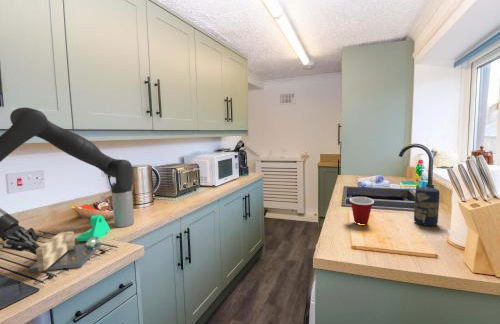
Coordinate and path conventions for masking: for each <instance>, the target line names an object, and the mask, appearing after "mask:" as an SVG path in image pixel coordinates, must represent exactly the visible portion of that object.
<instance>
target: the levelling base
mask: <svg viewBox="0 0 500 324" xmlns="http://www.w3.org/2000/svg"><path fill="white" fill-rule="evenodd" d="M99 241H100V239H99V238H98V237H97V236H93V237H92V238H90V239H89V240H88V241H85V243H81V244H80V243H79V244H78V243H77V244H75V248H74V249H73V250H70V251H67V252H66V253H65V254H63V255H62V256H61V257H60V258H59V259H58V260H56V261H55V262H54V263H53V264H52V265H51V266H50V267H48V268H47V269H46V270H45V271H44V272H49V271H58V270H57V269H61V270H64V269H63V268H69V269H70V270H71V269H79V268H82V267H83V266H84V265H85V264H86V263H87V262H88V261H89V260H90V258H91V257H92V256H93V255H94V254H95V253H96V252H97V251H98V250H99V249H100V248H101V246H102V245H101V244H102V243H101V242H99ZM97 249H98V250H97ZM96 250H97V251H96ZM69 269H68V270H69ZM28 271H29V273H38V272H42V271H38V264H37V262H36V263H34V264H33V265H31V266H30V267H29V268H28Z"/></svg>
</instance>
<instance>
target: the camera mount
mask: <svg viewBox="0 0 500 324" xmlns="http://www.w3.org/2000/svg"><path fill="white" fill-rule="evenodd" d="M89 224H90V225H91V228H90V229H89V230H87V231H85V232H83V233H81V234H79V235H78V236H76V241H77V242H87V241H88V240H89V239H90V238H92V237H93V236H97V237H98V238H99V240H101V239H102V238H104V237H105V236H106V234H107V233H108V232H110V231H111V229H110V226H109V224H108V222H107V221H106V219H105V218H104V216H103V215H97V214H96V215H92V216H91V218H90V220H89ZM103 236H104V237H103Z"/></svg>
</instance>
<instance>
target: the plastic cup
mask: <svg viewBox="0 0 500 324" xmlns="http://www.w3.org/2000/svg"><path fill="white" fill-rule="evenodd" d="M349 202H350V204H351V205H350V206H351V209H352V210H351V211H352V216H353V221H355V222H356V223H360V224H367V225H368V224H369V220H370V215H371V210H372V207H373V204H374V203H375V200H374V199H372V198H370V197H366V196H353V197H350V198H349ZM355 222H354V223H355Z"/></svg>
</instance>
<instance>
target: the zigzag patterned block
mask: <svg viewBox="0 0 500 324" xmlns="http://www.w3.org/2000/svg"><path fill="white" fill-rule="evenodd" d="M75 238H76V237H75V232H74V231H61V232H59V233H58V234H56V235H54V236H53V237H52V238H50V239H48V240H47V241H45V243H43V244H41V245H39V246H40V247H38V248H37V249H36V255H35V256H36V263H37V264H38V271H41V272H46V271H45V270H46V269H47V268H48V267H50V266H51V265H52V264H53V263H54V262H55V261H56V260H58V259H59V258H60V257H61V256H62V255H63V254H65V253H66V252H67V251H70V250H73V249H74V248H75V245H76V239H75Z"/></svg>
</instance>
